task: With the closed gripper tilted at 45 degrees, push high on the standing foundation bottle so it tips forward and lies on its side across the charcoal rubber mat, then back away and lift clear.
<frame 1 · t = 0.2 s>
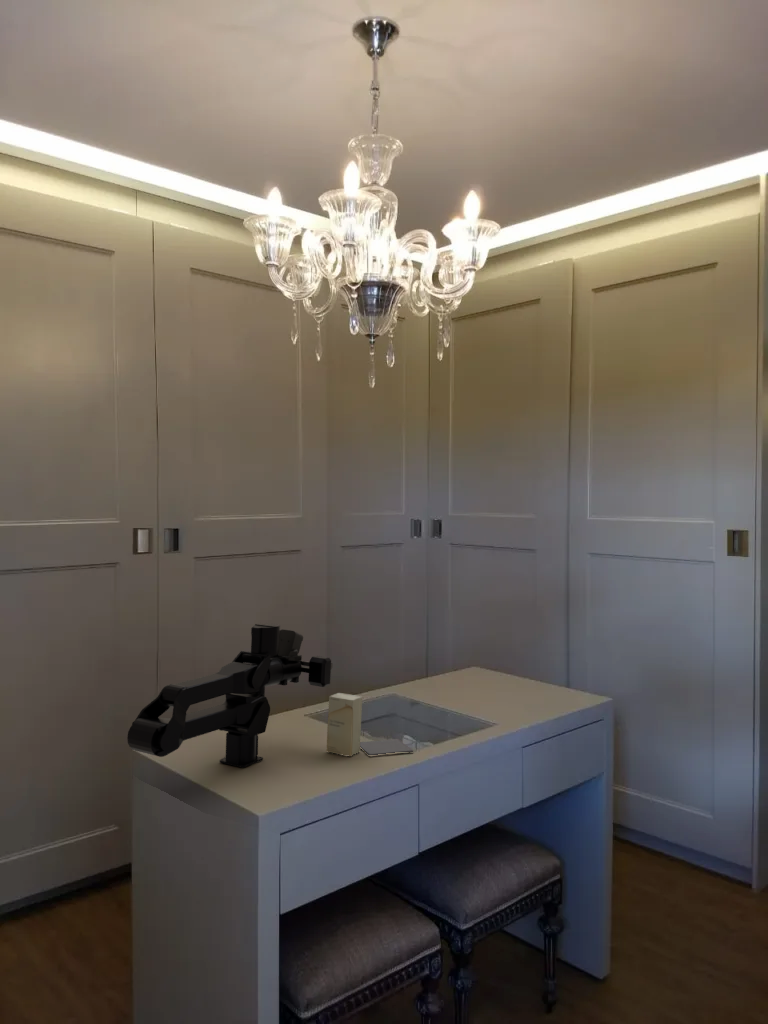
hand: (315, 662, 180), 16 cm above the table, tool horizontal, fingers open, 9 cm apart
rubber mat: (384, 749, 169), on the table
skincare box: (343, 753, 166), on the table
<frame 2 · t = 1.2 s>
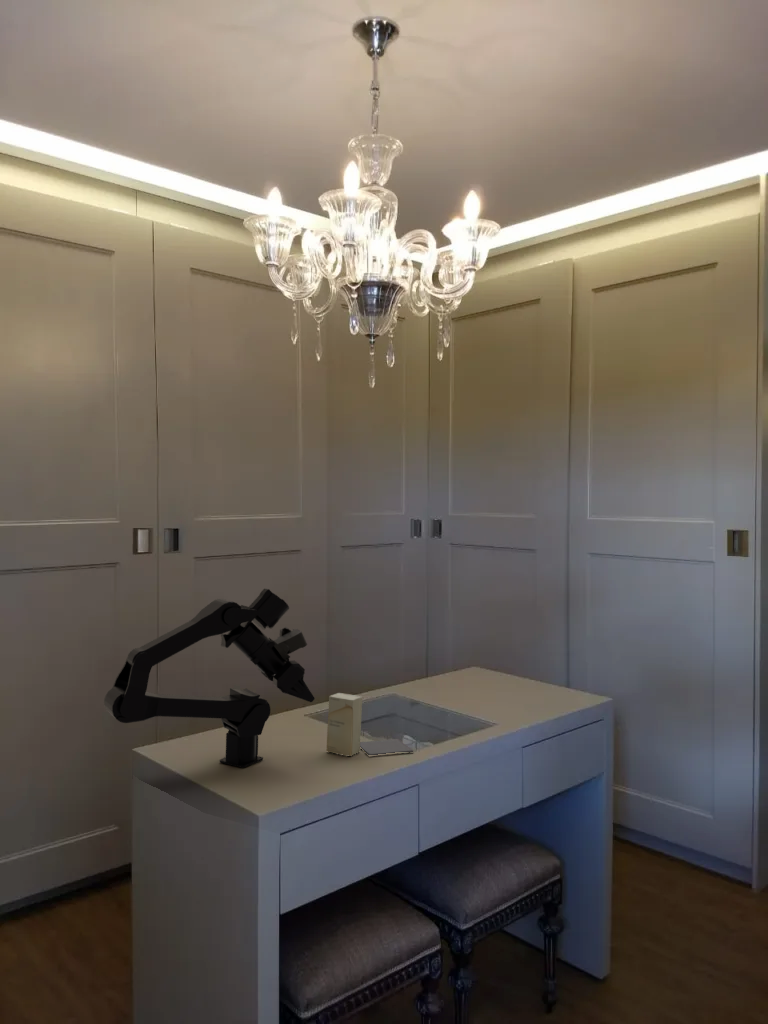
hand: (307, 695, 163), 13 cm above the table, tool tilted 45°, fingers open, 9 cm apart
nothing on the table moved.
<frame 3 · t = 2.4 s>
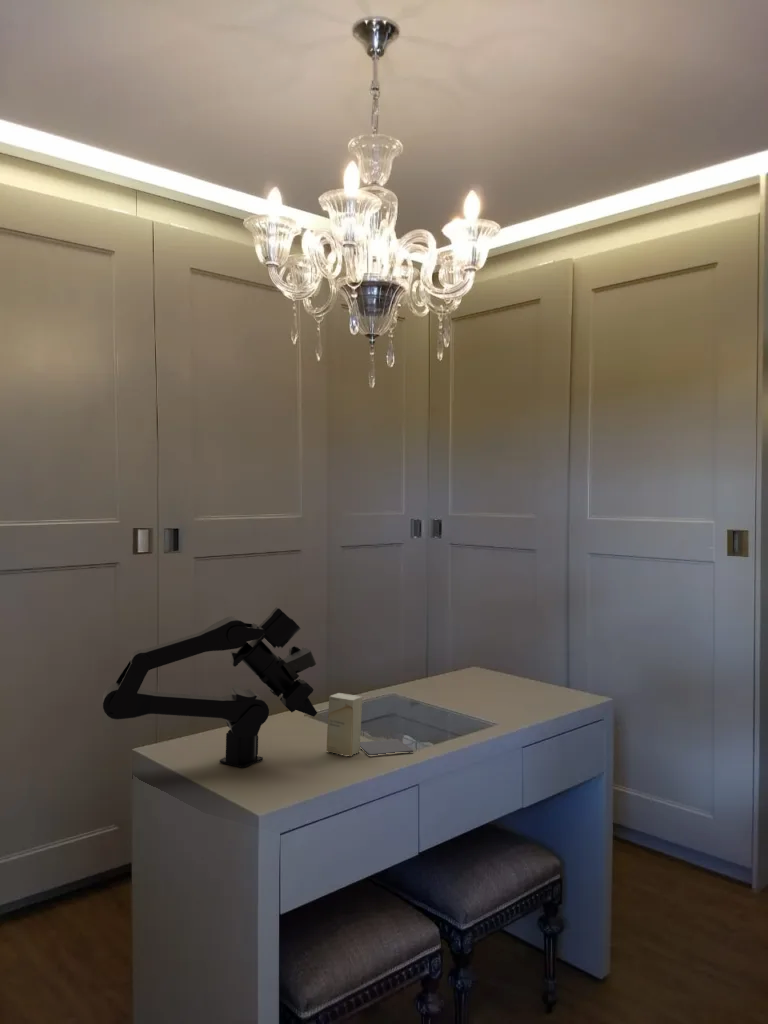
hand: (315, 714, 163), 9 cm above the table, tool tilted 45°, fingers closed
nothing on the table moved.
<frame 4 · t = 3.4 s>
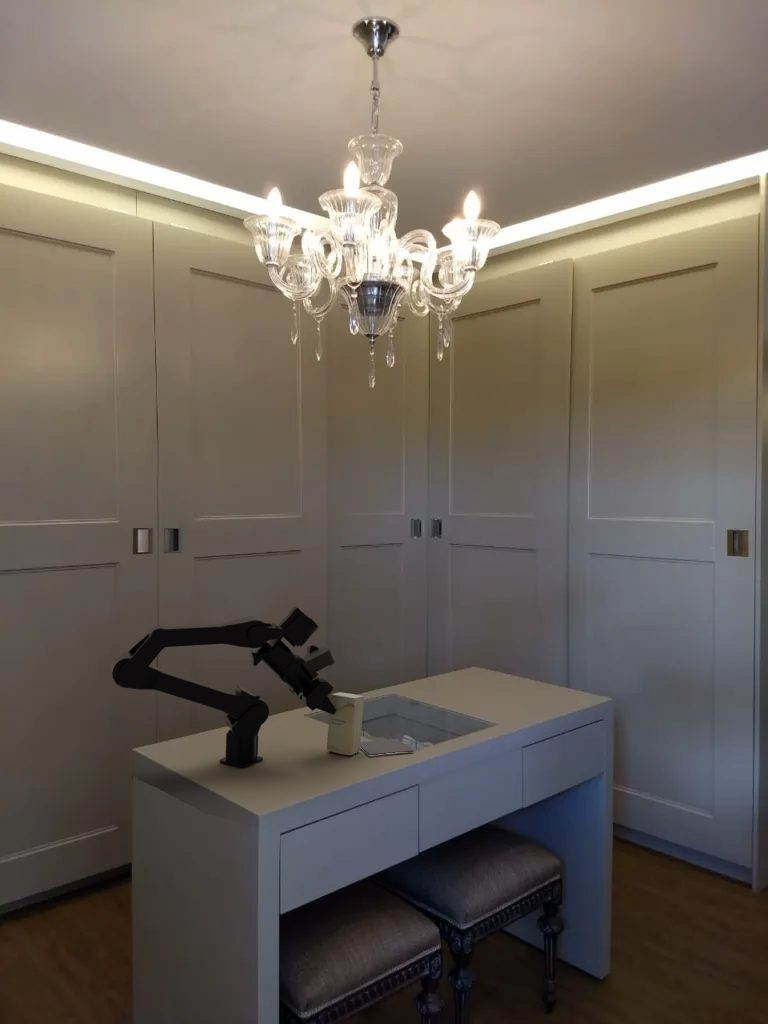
hand: (334, 712, 165), 9 cm above the table, tool tilted 45°, fingers closed
skincare box: (343, 752, 166), on the table, touching gripper
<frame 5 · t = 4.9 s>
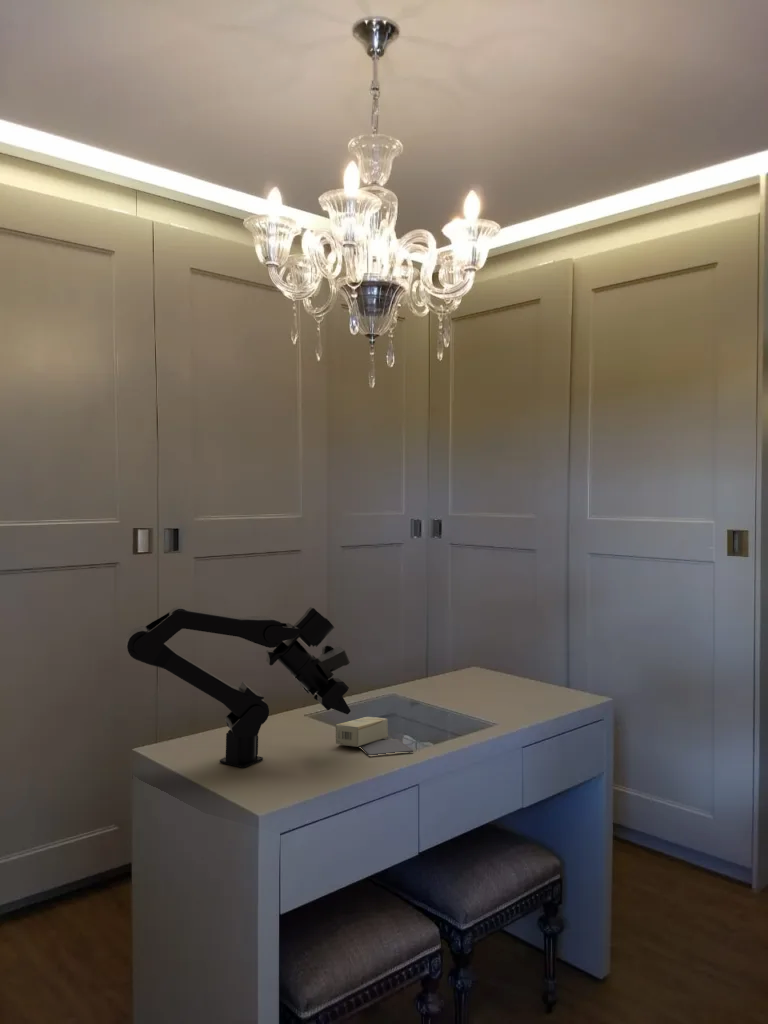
hand: (348, 712, 166), 9 cm above the table, tool tilted 45°, fingers closed
skincare box: (346, 736, 168), point 3 cm above the table, touching rubber mat
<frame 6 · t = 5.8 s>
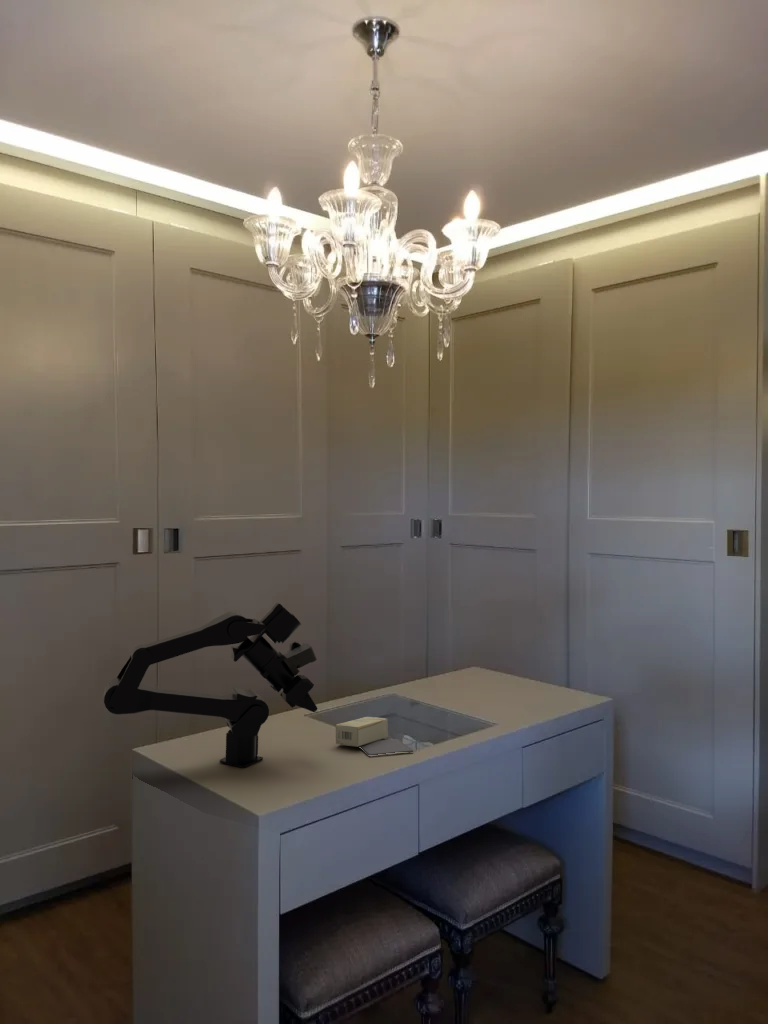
hand: (315, 710, 163), 10 cm above the table, tool tilted 45°, fingers closed
nothing on the table moved.
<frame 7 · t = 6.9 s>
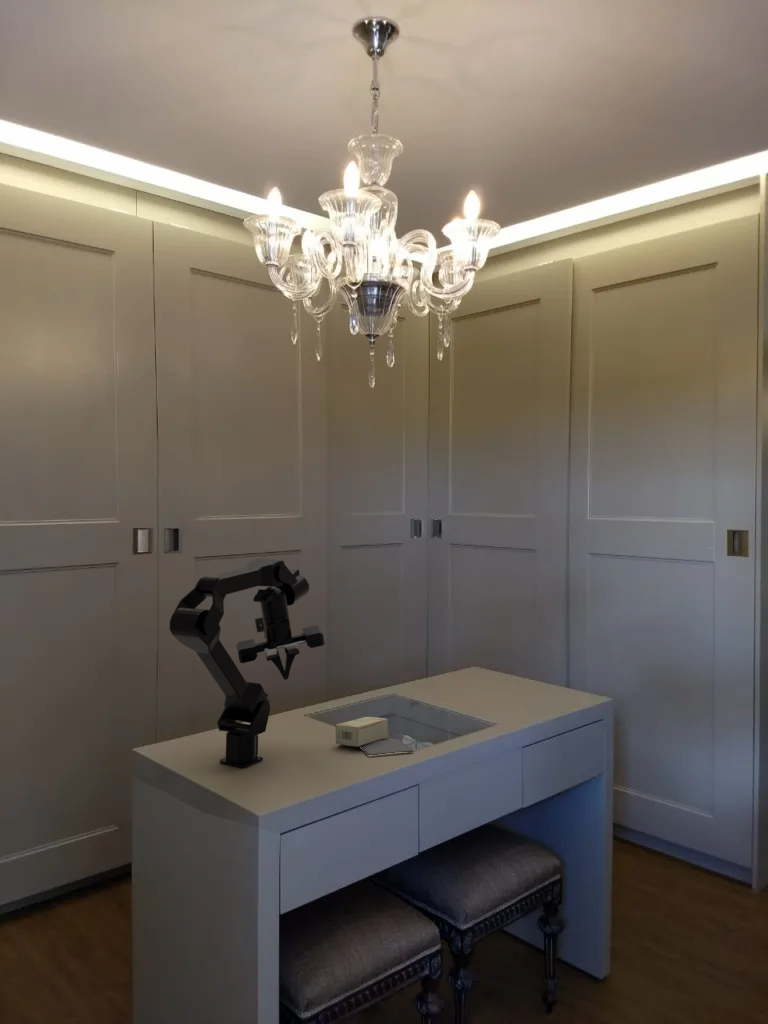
hand: (285, 678, 172), 14 cm above the table, tool tilted 15°, fingers closed
nothing on the table moved.
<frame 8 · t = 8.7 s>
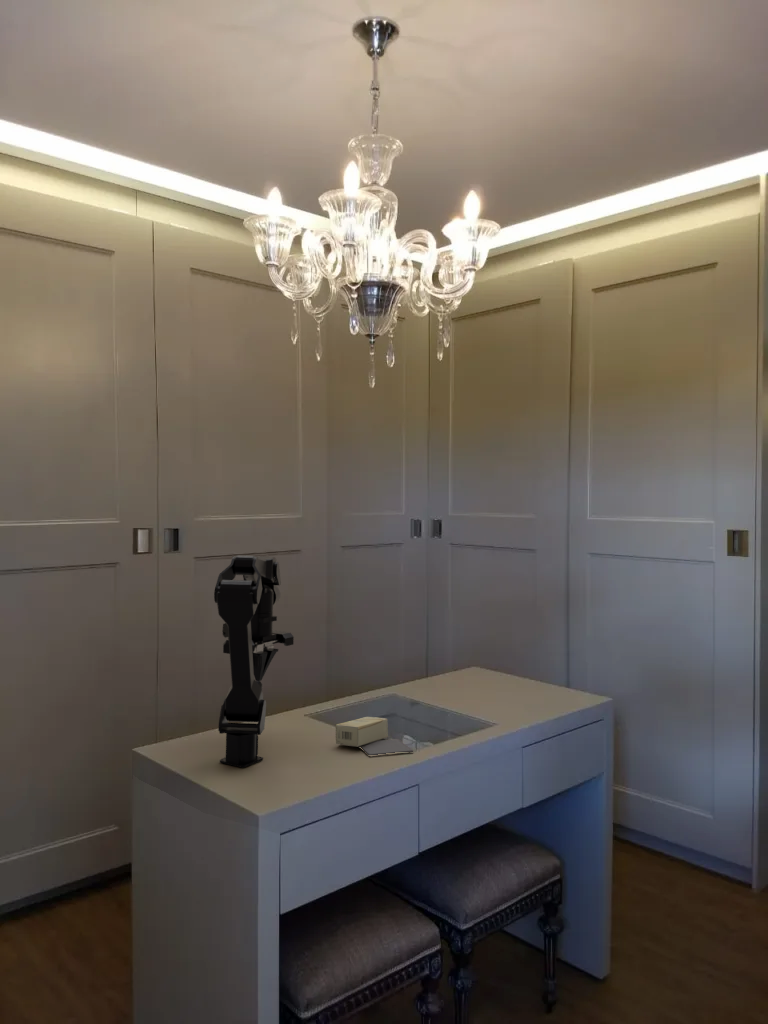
hand: (258, 680, 175), 13 cm above the table, tool pointing down, fingers closed
nothing on the table moved.
at the end: skincare box tilted 93°; skincare box inside the target area (4.4 cm from its centre), point 2.9 cm above the table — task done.
